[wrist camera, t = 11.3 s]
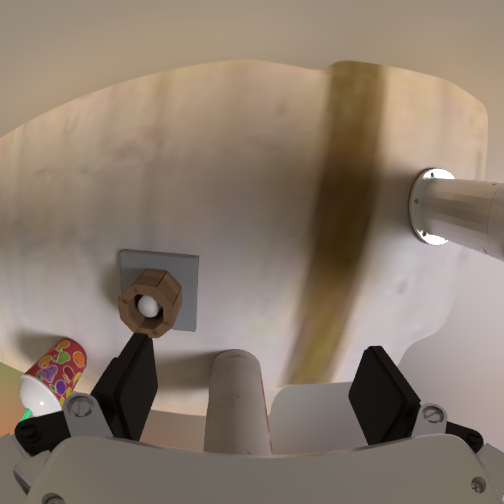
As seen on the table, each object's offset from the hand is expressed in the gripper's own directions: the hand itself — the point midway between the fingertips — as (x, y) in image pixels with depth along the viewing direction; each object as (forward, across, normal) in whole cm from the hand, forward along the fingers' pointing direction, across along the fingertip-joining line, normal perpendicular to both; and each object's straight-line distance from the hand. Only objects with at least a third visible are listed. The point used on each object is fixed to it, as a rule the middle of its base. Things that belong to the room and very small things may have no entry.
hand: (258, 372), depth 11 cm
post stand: (+26, +12, +8) cm, 30 cm away
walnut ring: (+25, +12, +8) cm, 29 cm away
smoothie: (+26, +30, +23) cm, 46 cm away
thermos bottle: (+27, 0, +21) cm, 34 cm away
